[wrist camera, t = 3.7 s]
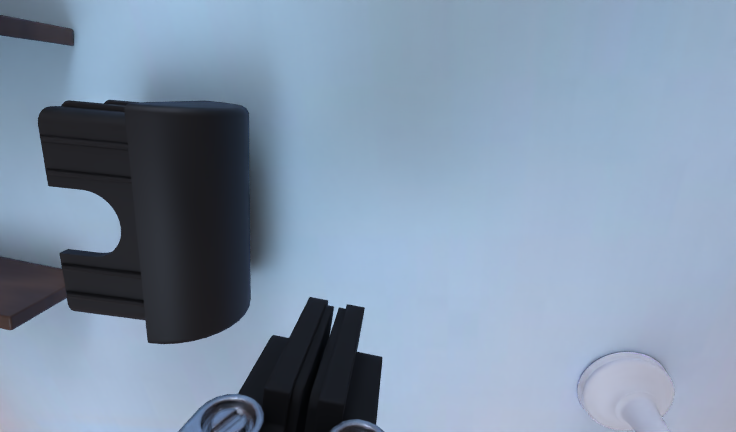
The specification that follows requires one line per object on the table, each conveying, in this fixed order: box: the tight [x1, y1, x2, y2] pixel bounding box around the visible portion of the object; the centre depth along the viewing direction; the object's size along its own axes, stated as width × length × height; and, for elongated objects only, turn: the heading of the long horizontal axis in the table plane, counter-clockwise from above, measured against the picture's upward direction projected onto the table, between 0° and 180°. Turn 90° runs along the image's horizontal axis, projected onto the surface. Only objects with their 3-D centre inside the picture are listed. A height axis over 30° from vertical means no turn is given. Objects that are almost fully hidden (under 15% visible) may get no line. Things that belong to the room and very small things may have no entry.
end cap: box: [38, 100, 251, 344], centre depth 19 cm, size 10×7×7 cm
